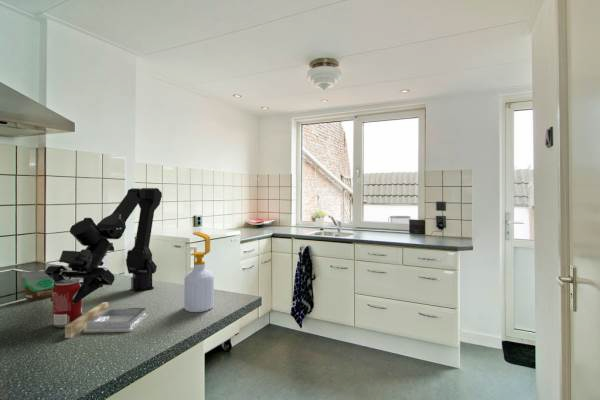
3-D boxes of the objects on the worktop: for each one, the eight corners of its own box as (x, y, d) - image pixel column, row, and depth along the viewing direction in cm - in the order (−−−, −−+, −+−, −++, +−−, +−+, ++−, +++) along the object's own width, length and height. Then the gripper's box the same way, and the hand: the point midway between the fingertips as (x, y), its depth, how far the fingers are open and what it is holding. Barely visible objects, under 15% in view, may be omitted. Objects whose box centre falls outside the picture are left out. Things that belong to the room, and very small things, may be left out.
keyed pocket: (107, 315, 97) (107, 307, 97) (148, 314, 98) (148, 307, 98) (84, 332, 85) (83, 323, 85) (131, 331, 86) (131, 323, 86)
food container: (28, 303, 106) (27, 273, 106) (20, 300, 110) (20, 271, 110) (70, 294, 117) (70, 266, 117) (62, 291, 120) (62, 264, 120)
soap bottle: (190, 302, 109) (190, 230, 109) (217, 303, 109) (217, 230, 108) (179, 312, 100) (180, 233, 100) (208, 313, 100) (209, 234, 99)
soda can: (66, 329, 87) (66, 285, 86) (46, 327, 88) (45, 283, 88) (87, 320, 93) (88, 279, 93) (68, 318, 95) (68, 277, 94)
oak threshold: (103, 311, 100) (103, 302, 100) (108, 311, 100) (108, 302, 100) (65, 337, 82) (64, 326, 82) (71, 337, 82) (71, 325, 82)
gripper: (50, 238, 95) (12, 285, 85) (107, 240, 93) (76, 289, 82) (72, 259, 103) (40, 305, 92) (126, 261, 101) (99, 309, 90)
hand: (62, 302), depth 89 cm, fingers closed on soda can, 6 cm apart
